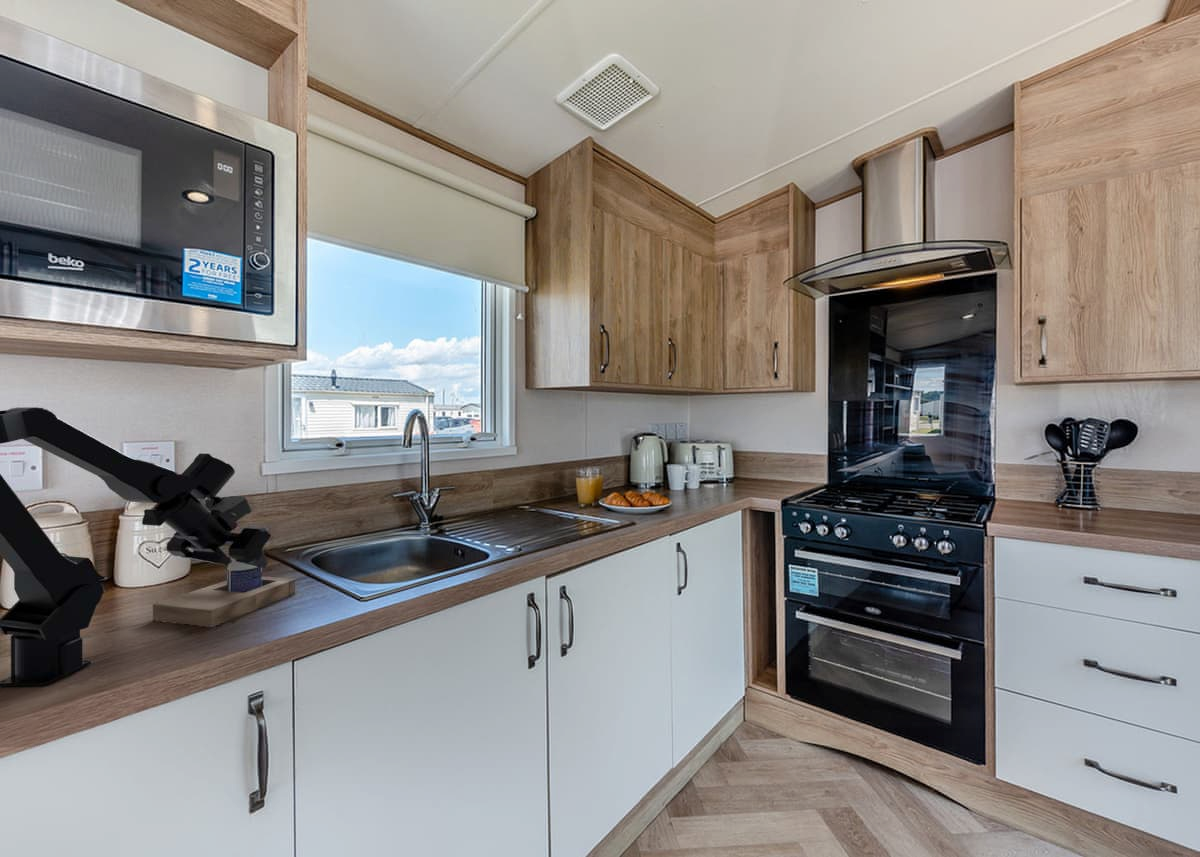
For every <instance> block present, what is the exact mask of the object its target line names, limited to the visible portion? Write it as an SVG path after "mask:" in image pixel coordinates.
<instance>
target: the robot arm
mask: <svg viewBox="0 0 1200 857" xmlns="http://www.w3.org/2000/svg"><path fill="white" fill-rule="evenodd" d="M20 440H24V441H26V442H28V443H29V444H32V445H34V446H35V447H38V448H40V449H42V450H44V451H46V452H49V453H51V454H53V455H54V456H57V457H58V458H60V459H62V460H64V461H67V462H68V463H70V464H73V465H74V466H77V467H78V468H80V469H83V470H84V471H87V472H88V473H91V474H93V475H96V476H97V477H99V478H100V479H101V480H103V482H104V483H105V484H106V486H107V488H109V490H111V491H112V492H114V493H115V494H116V495H118V496H119V497H120V498H122V499H123V500H125V501H127V502H131V503H146V504H147V503H149V504H154V505H153V506H152V508H148V509H147V508H146V509H143V513H144V514H143V517H142V519H141V520H142V521H141V524H142V525H143V526H155V527H161V526H162V525H163V524H166V525H167V526H168V527H170V528H171V529H172V530H174V531H175V533H174V534H173V536H172V537H171V539H170V540H168V542H167V543H166V552H168V553H169V554H171V555H173V556H174V557H181V558H183V559H184V558H185V559H189V560H196V561H200V562H207V563H212V564H216V565H217V564H218V565H223V566H228V565H229V564H230V563H231V562H230V561H231V559H230V557H232V558H233V559H236V562H240V563H245V564H249V565H253V566H257V567H261V568H262V569H265V568H266V567H267V566H268V565H269V563H268V560H267V557H266V555H265V552H264V546H266V544H267V542H268V541H269V540H270V538H271V537H272V534H271V532H270V531H269V530H268V529H267V528H266V527H263V526H261V527H260V526H247V527H243V529H241V531H240V532H232V531H234V530H236V528H237V527H238V526H239V523H237V521H239V520H240V519H242V518H243V517H245V516H247V515H249V514H251V513H252V511H253V509H252V508H251V506H250V502H249V500H248V499H247V498H248V497H246V496H235V495H234V496H233V495H231V496H224V497H220V496H217V495H219V494H218V493H220V492H221V490H222V489H223V488H224V487H225V486H226V484H227V483H229V481H230V479H231V478H232V477H234V475H235V473H236V471H235V468H234V467H233V466H232V465H231V464H230V463H227V462H225V461H223V460H222V459H219V458H216V457H213V456H212V455H211V453H201V452H200V453H198V455H197V456H196V457H195V458H194V459H193V461H192V462H191V463H190V464H189V466H188V467H186V469H184V471H183V472H182V473H181V474H180V473H178V472H176V471H175V470H173V469H171V468H169V467H165V466H162V465H160V464H157V463H153V462H149V461H145V460H142V459H137V458H134V457H131V456H129V455H127V454H125V453H123V452H122V451H119V450H118V449H116V448H114V447H112V446H111V445H109V444H107V443H105V442H104V441H102V440H100V439H98V438H96V437H94V436H92V435H90V434H89V433H87V432H85V431H84V430H82V429H79V428H78V427H76V426H75V425H72V424H70V423H69V422H67V421H65V420H63V419H61V418H60V417H58V416H56V414H55V413H53V412H52V411H50V410H49V409H47V408H43V407H35V406H34V407H30V406H28V407H12V408H9V409H5V410H0V444H6V443H11V442H14V441H20ZM201 500H205V504H204V503H202V502H201ZM222 546H228V556H229V557H228V556H227V554H225V552H224V551H223V550H222V549H221V547H222ZM0 556H1V557H2V558H3V560H4V561H5V562H6V563H7V564H8V566H9V567H10V568H11V569H12V572H13V577H14V580H13V586H14V587H13V590H14V592H15V594H16V596H17V598H18V600H17V601H16V602H15V603H14V604H13V605H12V606H11V607H10V608H9V609H8V610H7V611H6V612H5V613H4V614H3V615H2V616H1V617H0V632H1V634H2V635H4V636H7V635H10V676H9V677H6V678H4V679H2V680H0V687H22V686H23V687H26V686H27V687H29V686H31V687H32V686H35V687H36V686H37V687H38V686H48V685H49V684H52V683H53V682H57V681H58V680H60V679H62V678H65V677H66V676H68V675H70V674H72V673H74V672H76V671H78V670H80V669H83V668H85V667H87V666H88V665H90V664H91V663H92V660H91V659H83V637H81V630H84V629H87V628H89V626H90V623H91V621H92V618H93V615H94V614H95V611H96V608H97V606H98V604H99V603H100V601H101V600H102V597H103V595H104V594H105V587H104V585H103V582H102V581H103V580H105V579H106V576H103V575H101V574H100V573H98V571H97V570H96V567H95V566H94V563H93V561H92V560H91V559H90V558H89V557H83V556H69V555H63V554H62V553H61V552H60V551H59V549H58V548H57V547H56V546H55V544H54V543H53V541H52V540H51V539H50V538H49V537H48V535H47V534H46V532H45V531H44V530H43V529H42V527H41V526H40V525H39V523H38V522H37V521H36V519H35V518H34V516H33V515H32V514H31V512H30V511H29V510H28V508H27V507H26V506H25V505H24V504H23V502H22V500H21V499H20V498H19V497H18V495H17V494H16V492H14V490H13V489H12V488H11V486H10V485H9V483H8V482H7V481H6V479H5V478H4V477H3V475H2V474H1V473H0Z"/></svg>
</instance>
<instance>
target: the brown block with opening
mask: <svg viewBox="0 0 1200 857" xmlns="http://www.w3.org/2000/svg"><path fill="white" fill-rule="evenodd" d="M295 594H296V578H283V577H273V576H262V587H259V588H256V589H253V590H251V591H248V592H245V593H241V592H230V591H227V580H224V581H220V582H218V583H215V584H212V585H209V586H208V585H207V586H206V587H203V588H199V589H196V590H193V591H190V592H187V593H183V594H180V595H177V596H174V597H171V598H169V599H165V600H162V601H159V602H156V603H153V604H152V621H153V620H156V621H155V622H158V621H165V622H164V623H167V622H175V623H174V624H176V623H182V624H181V625H184V624H190V625H189V626H193V625H197V626H196V627H202V626H205V627H204V628H211V627H212V628H214V627H216V625H217V626H219V625H222V624H223V623H226V622H229V621H231V620H233V619H236V618H239V617H242V616H243V615H245V614H249V613H250V612H253V611H256V610H258V609H261V608H263V607H266V606H268V605H271V604H274V603H276V602H278V601H280V600H283V599H285V597H286V598H288V597H291V596H294V595H295ZM221 623H222V624H221Z"/></svg>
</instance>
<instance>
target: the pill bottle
mask: <svg viewBox="0 0 1200 857" xmlns="http://www.w3.org/2000/svg"><path fill="white" fill-rule="evenodd" d="M229 560H230V561H231V562H229V563H228V564H227V568H226V581H227V591H230V592H241V593H245V592H248V591H251V590H253V589H256V588H259V587H262V577H263V568H261V567H257V566H253V565H249V564H245V563H240V562H236V559H233V558H232V557H230V556H229Z"/></svg>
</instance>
